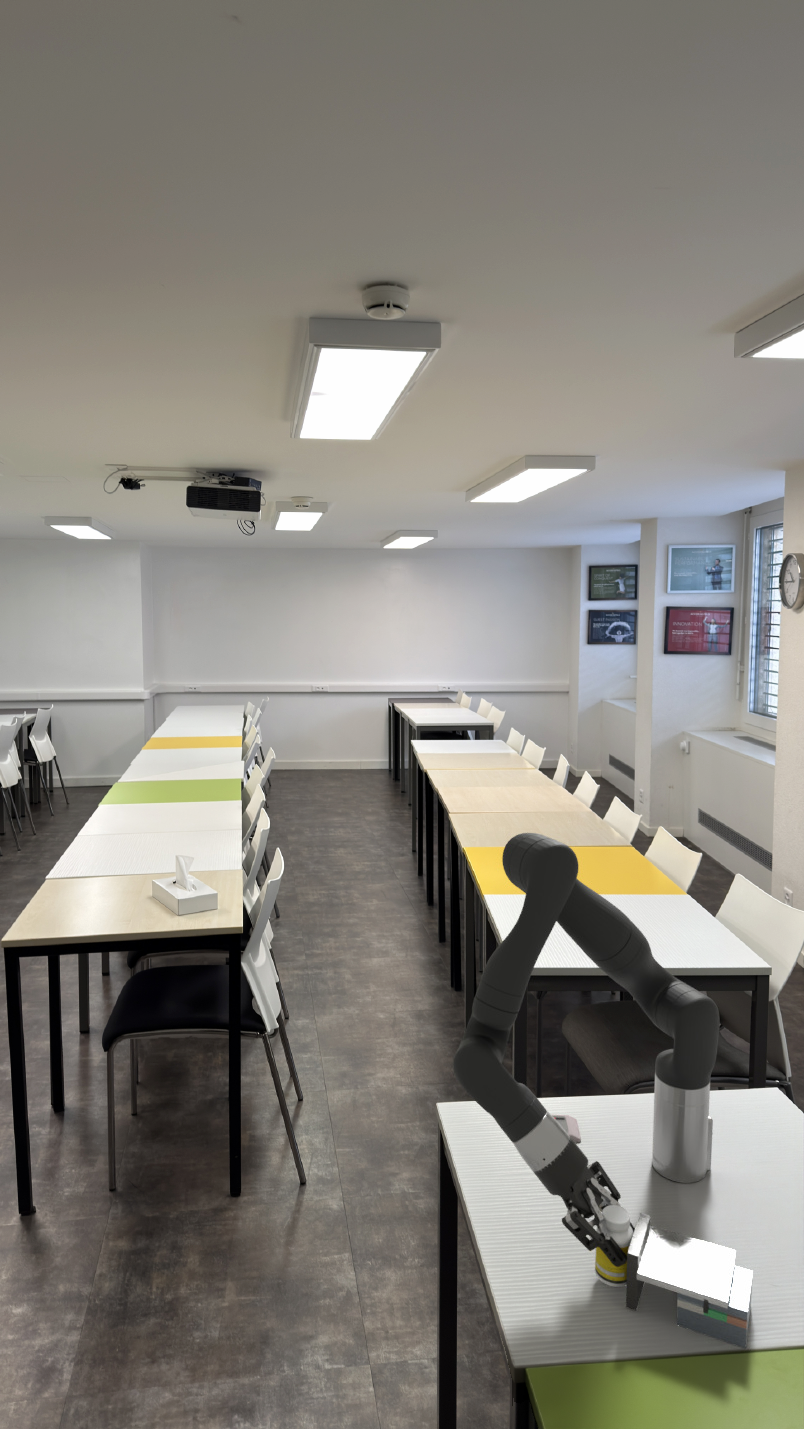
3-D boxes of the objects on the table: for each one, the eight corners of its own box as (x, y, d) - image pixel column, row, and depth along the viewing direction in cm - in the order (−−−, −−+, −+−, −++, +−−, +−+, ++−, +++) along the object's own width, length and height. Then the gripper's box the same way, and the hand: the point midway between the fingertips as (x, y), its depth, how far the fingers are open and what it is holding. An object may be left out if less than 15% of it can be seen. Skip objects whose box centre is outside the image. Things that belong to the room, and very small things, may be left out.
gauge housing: (676, 1326, 123) (677, 1290, 123) (685, 1285, 131) (686, 1251, 130) (745, 1349, 120) (747, 1312, 119) (750, 1306, 127) (752, 1271, 126)
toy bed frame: (624, 1310, 125) (626, 1256, 124) (639, 1261, 135) (641, 1210, 134) (725, 1345, 120) (728, 1288, 118) (733, 1291, 129) (736, 1237, 128)
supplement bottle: (633, 1291, 128) (635, 1229, 127) (594, 1285, 129) (596, 1224, 128) (631, 1263, 133) (633, 1204, 132) (594, 1258, 134) (596, 1199, 133)
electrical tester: (591, 1144, 165) (591, 1129, 165) (506, 1141, 166) (506, 1126, 166) (585, 1123, 172) (586, 1108, 171) (504, 1120, 173) (504, 1106, 172)
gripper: (553, 1167, 125) (636, 1272, 122) (580, 1114, 138) (655, 1207, 135) (516, 1191, 129) (596, 1294, 125) (546, 1136, 141) (619, 1228, 138)
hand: (627, 1248), depth 130 cm, fingers closed on supplement bottle, 5 cm apart
